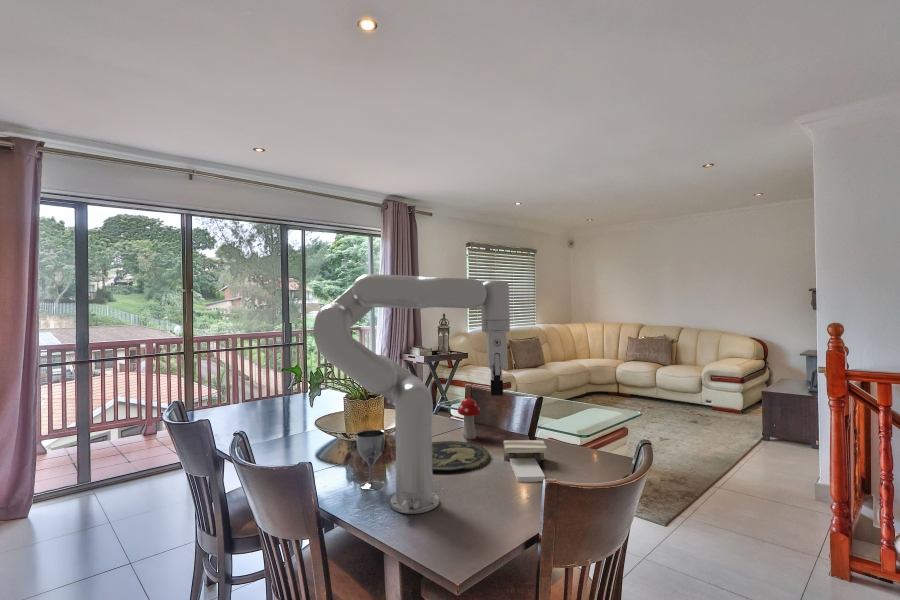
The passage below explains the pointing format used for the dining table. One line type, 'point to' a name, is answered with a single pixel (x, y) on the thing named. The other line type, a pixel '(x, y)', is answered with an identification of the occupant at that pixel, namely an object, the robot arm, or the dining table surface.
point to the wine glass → (370, 453)
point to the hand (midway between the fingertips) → (496, 394)
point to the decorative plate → (457, 457)
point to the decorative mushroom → (469, 417)
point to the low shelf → (524, 449)
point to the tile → (527, 469)
